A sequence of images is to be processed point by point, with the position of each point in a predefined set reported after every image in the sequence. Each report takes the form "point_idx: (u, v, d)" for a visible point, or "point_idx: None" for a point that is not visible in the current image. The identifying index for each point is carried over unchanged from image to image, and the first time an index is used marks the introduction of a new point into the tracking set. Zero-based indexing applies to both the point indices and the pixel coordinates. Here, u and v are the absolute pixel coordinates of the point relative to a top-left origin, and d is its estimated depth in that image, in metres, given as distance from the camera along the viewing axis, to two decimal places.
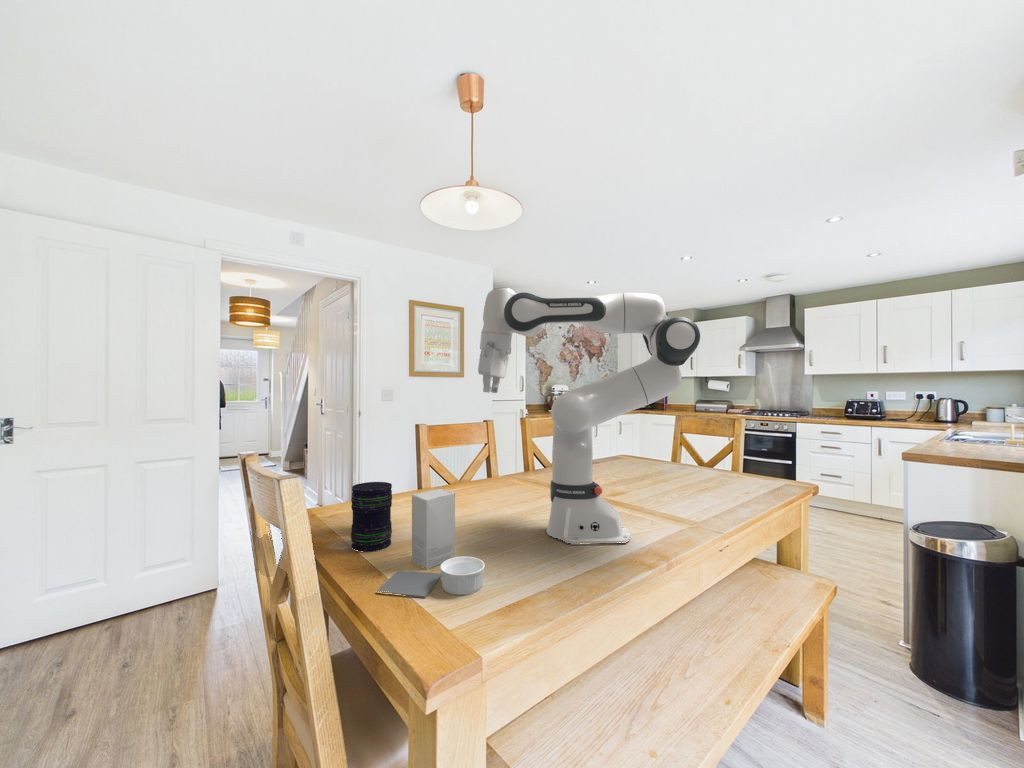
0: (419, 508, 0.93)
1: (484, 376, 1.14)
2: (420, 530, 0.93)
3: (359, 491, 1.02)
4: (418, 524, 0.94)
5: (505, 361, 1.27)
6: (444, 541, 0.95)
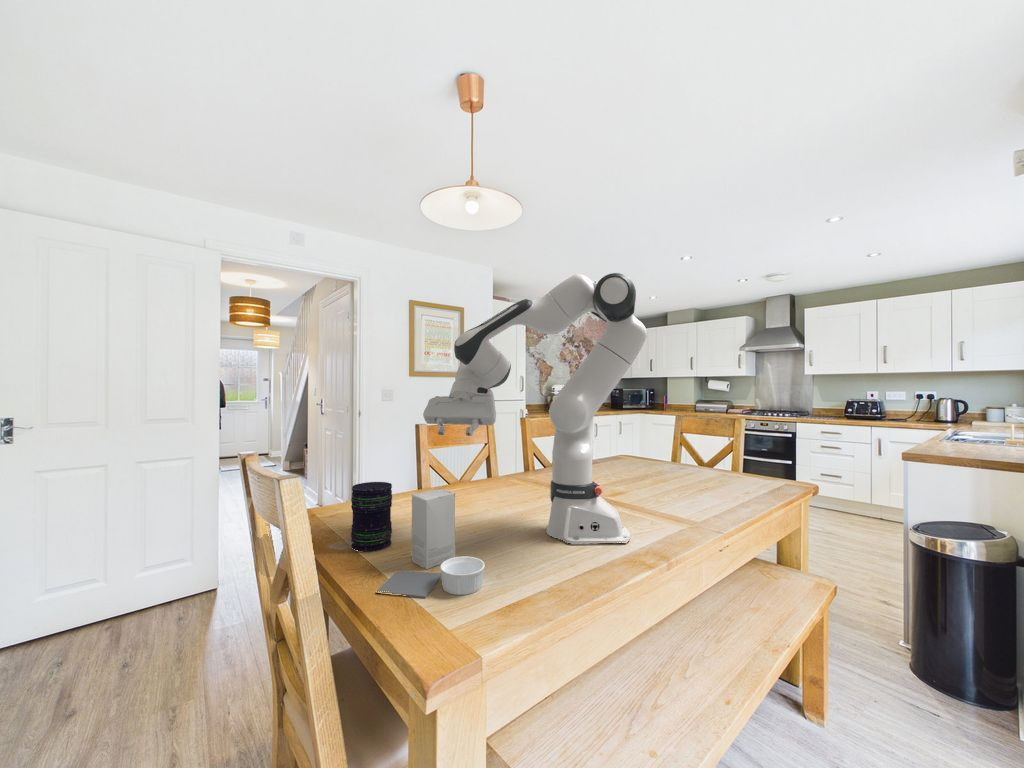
0: (419, 508, 0.93)
1: None
2: (420, 530, 0.93)
3: (359, 491, 1.02)
4: (418, 524, 0.94)
5: (486, 403, 1.16)
6: (444, 541, 0.95)
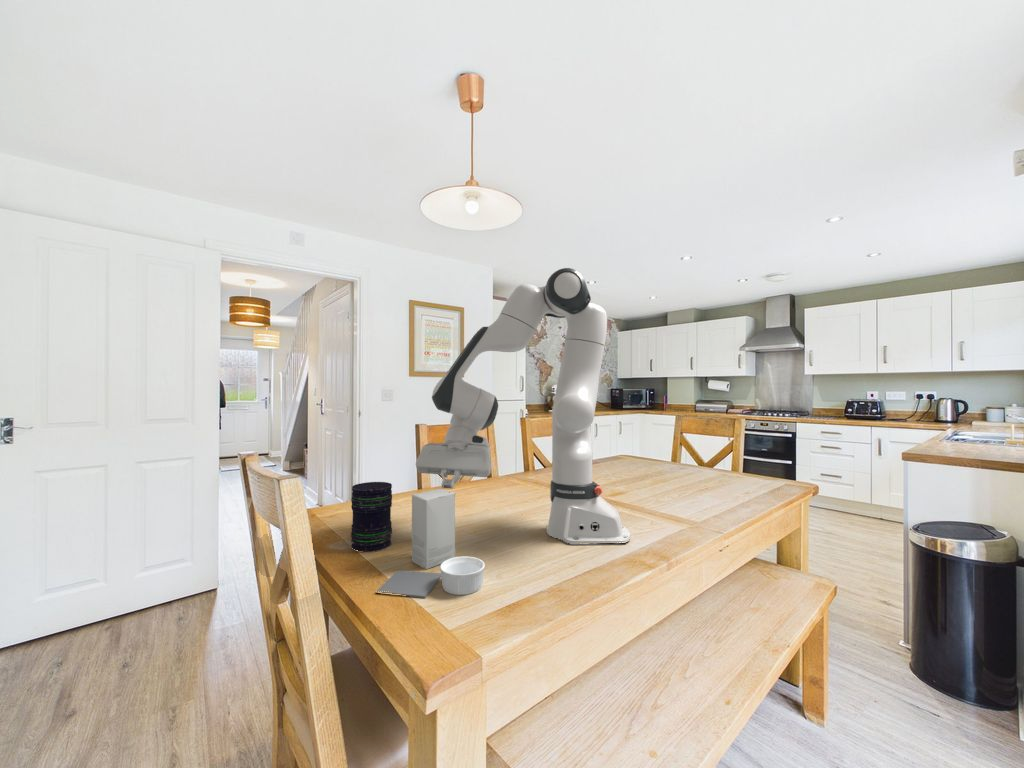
0: (419, 508, 0.93)
1: None
2: (420, 530, 0.93)
3: (359, 491, 1.02)
4: (418, 524, 0.94)
5: (481, 453, 1.12)
6: (444, 541, 0.95)
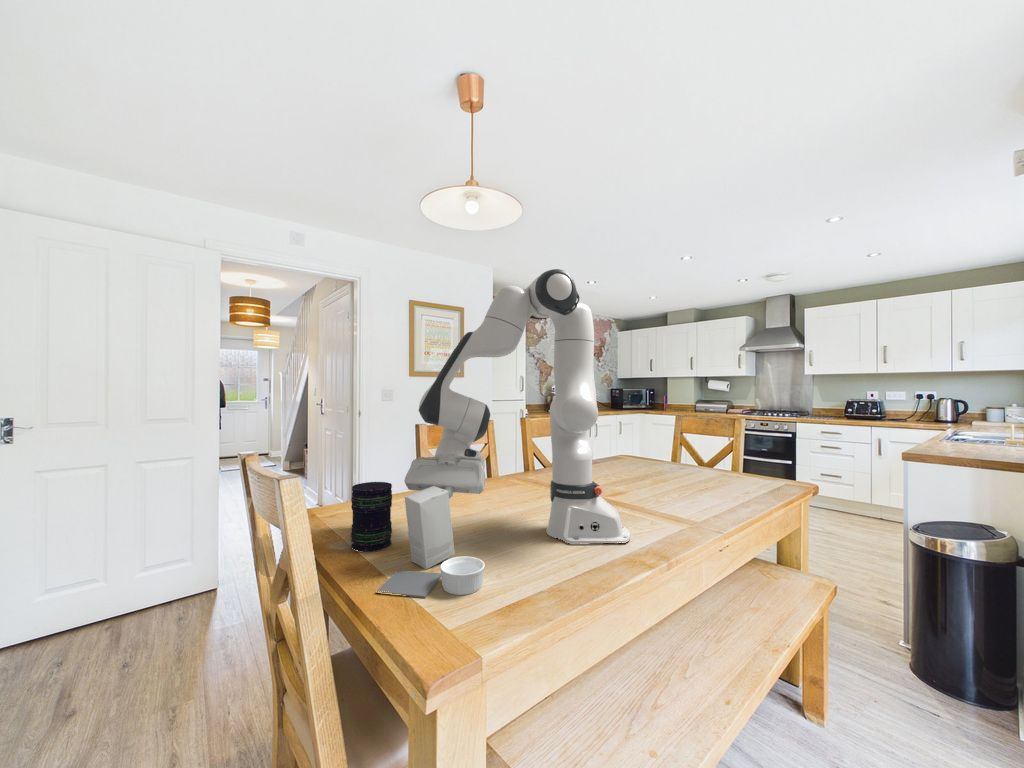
0: (413, 510, 0.92)
1: None
2: (416, 532, 0.92)
3: (359, 491, 1.02)
4: (414, 526, 0.92)
5: (474, 468, 1.05)
6: (441, 540, 0.94)
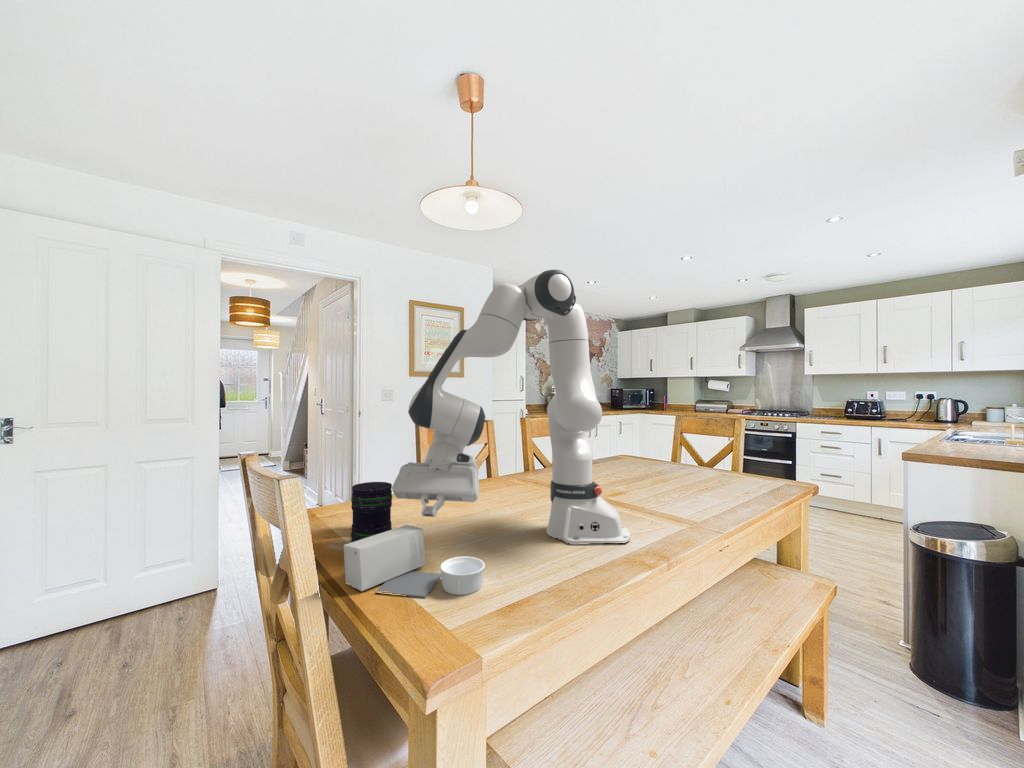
0: None
1: None
2: None
3: (359, 491, 1.02)
4: None
5: (467, 474, 0.97)
6: (405, 550, 0.88)
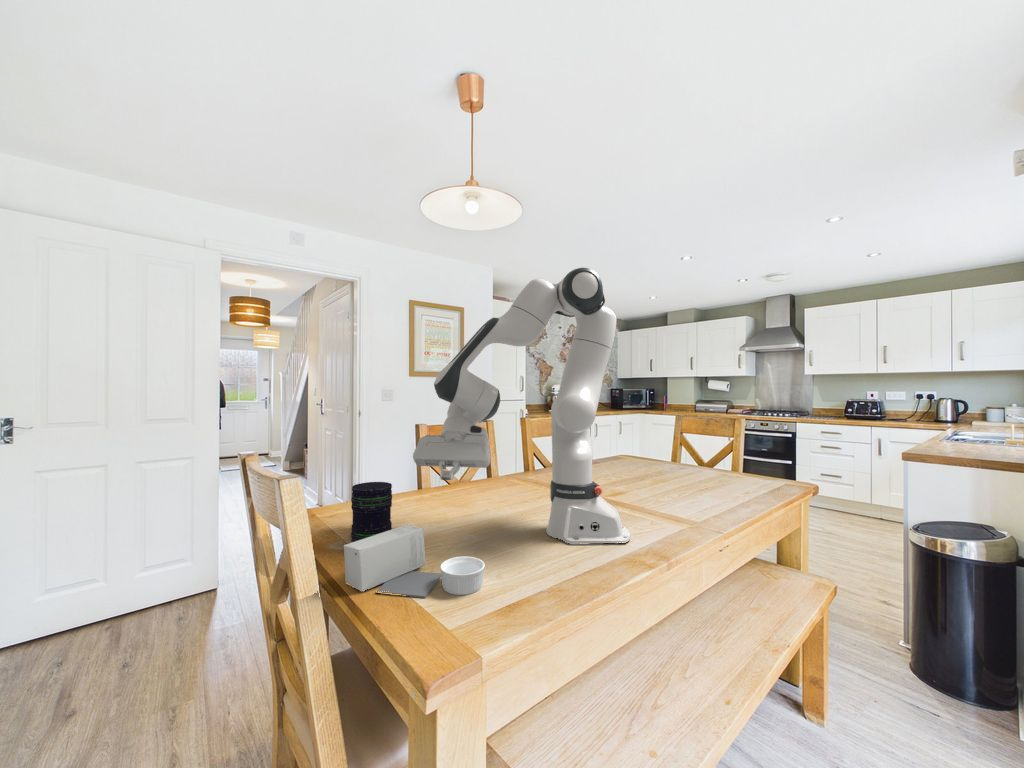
0: None
1: None
2: None
3: (359, 491, 1.02)
4: None
5: (480, 443, 1.09)
6: (405, 551, 0.88)
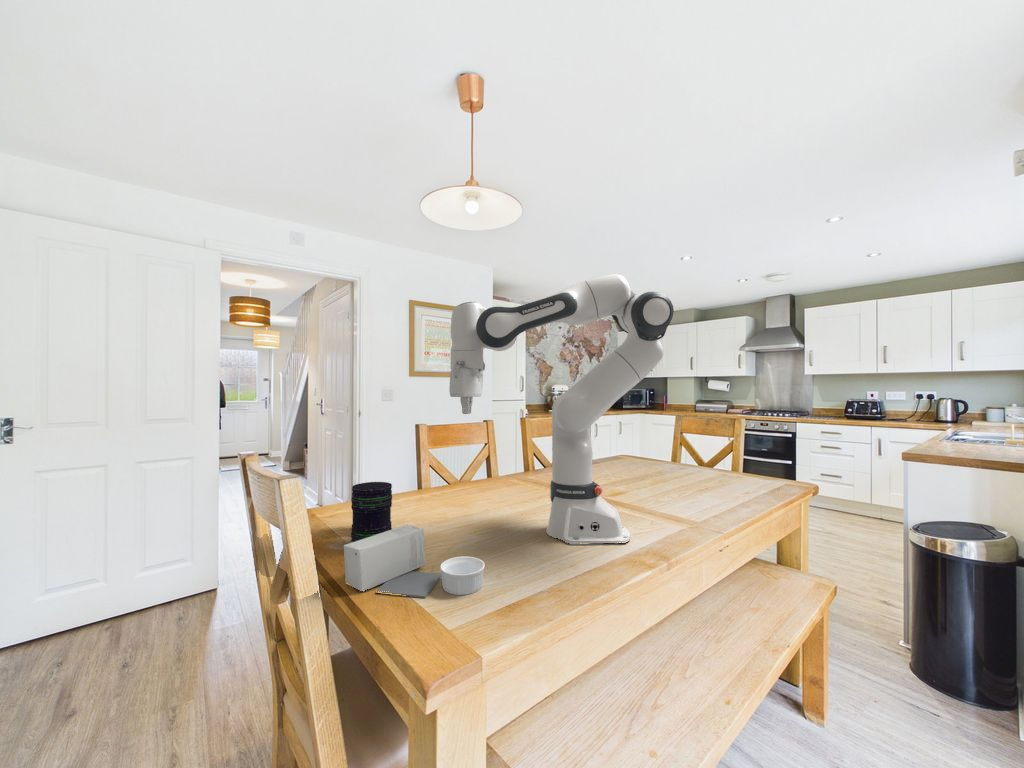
0: None
1: (461, 398, 1.11)
2: None
3: (359, 491, 1.02)
4: None
5: (480, 378, 1.20)
6: (405, 551, 0.88)
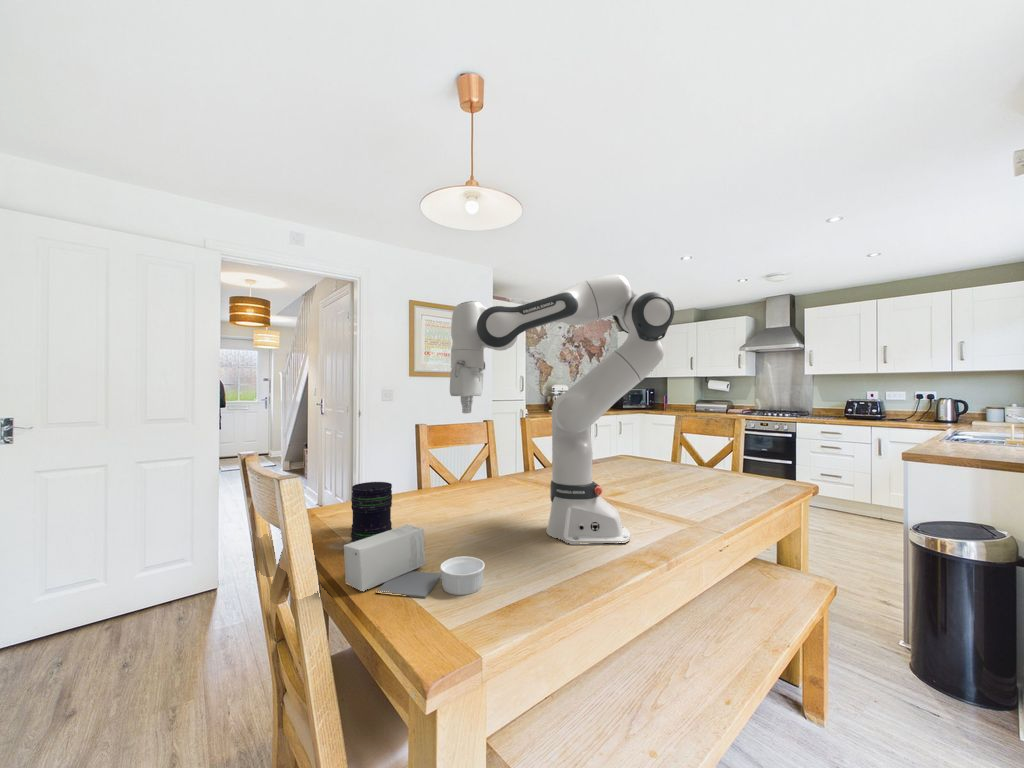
0: None
1: (462, 397, 1.11)
2: None
3: (359, 491, 1.02)
4: None
5: (480, 377, 1.20)
6: (405, 551, 0.88)
